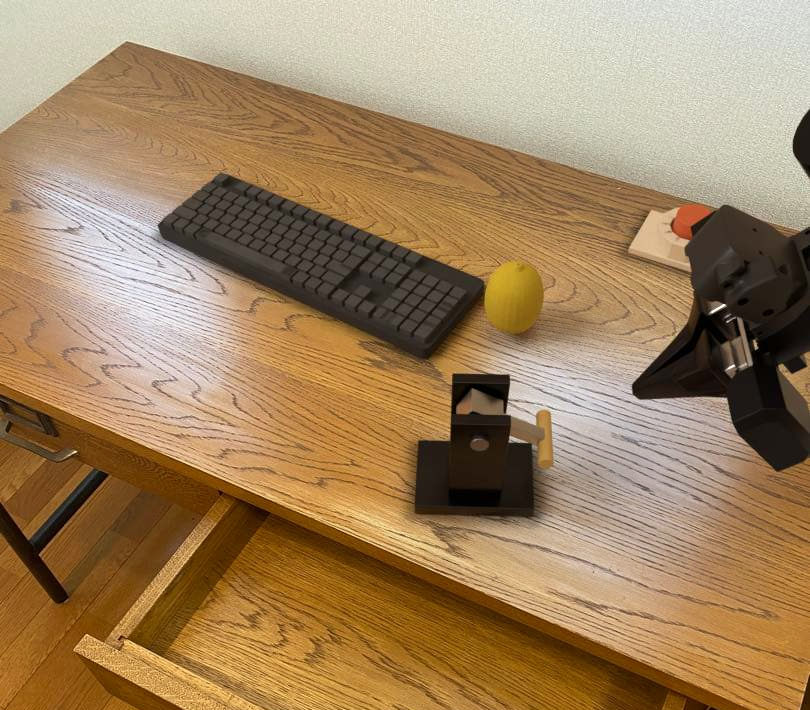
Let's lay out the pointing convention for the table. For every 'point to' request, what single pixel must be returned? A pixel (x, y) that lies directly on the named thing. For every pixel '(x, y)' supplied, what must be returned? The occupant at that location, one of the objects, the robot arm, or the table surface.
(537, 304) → the lemon
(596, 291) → the table surface
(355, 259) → the keyboard
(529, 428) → the lever
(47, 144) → the table surface
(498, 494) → the black upright frame
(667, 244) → the beige button base
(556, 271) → the table surface
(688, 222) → the button
